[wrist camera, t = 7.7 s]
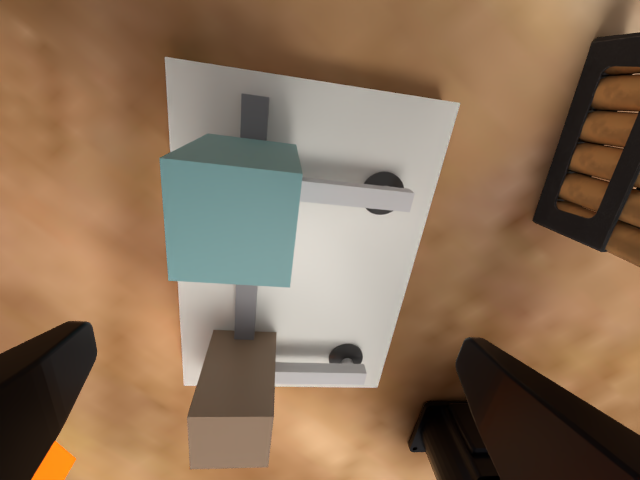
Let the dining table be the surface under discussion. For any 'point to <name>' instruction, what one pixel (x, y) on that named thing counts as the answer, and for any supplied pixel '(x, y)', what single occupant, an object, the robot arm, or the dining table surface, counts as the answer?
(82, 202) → the dining table surface
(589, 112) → the ammunition clip
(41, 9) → the dining table surface
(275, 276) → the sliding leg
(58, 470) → the orange juice
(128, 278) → the dining table surface
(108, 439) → the dining table surface
